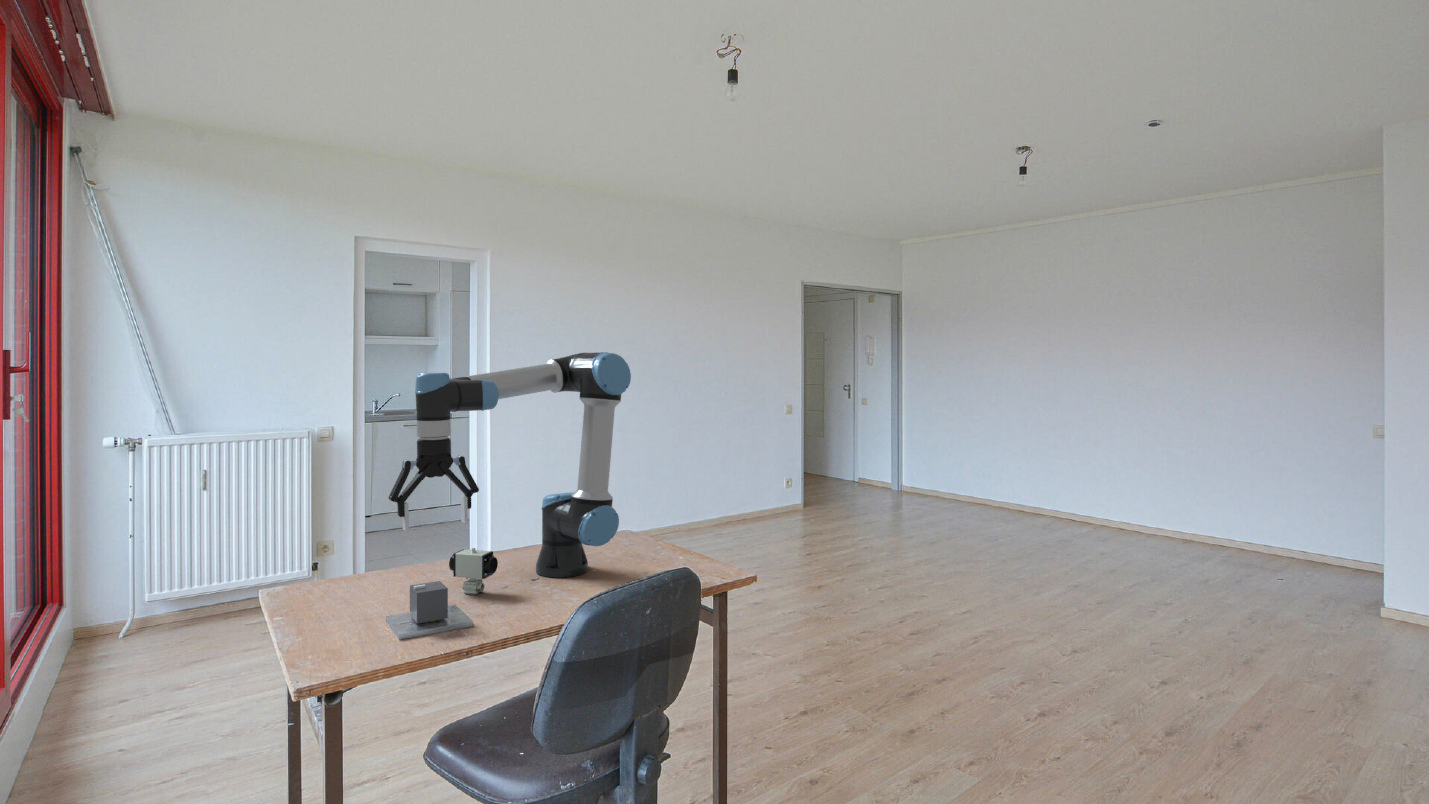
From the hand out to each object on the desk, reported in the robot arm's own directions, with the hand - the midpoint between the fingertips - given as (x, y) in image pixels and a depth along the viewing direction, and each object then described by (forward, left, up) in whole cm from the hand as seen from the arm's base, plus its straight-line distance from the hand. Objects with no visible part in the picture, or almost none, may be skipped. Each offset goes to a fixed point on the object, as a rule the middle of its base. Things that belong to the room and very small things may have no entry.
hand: (435, 526), depth 174 cm
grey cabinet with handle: (+3, +4, -20) cm, 21 cm away
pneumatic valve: (-13, -14, -22) cm, 29 cm away
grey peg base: (+3, +4, -22) cm, 22 cm away
